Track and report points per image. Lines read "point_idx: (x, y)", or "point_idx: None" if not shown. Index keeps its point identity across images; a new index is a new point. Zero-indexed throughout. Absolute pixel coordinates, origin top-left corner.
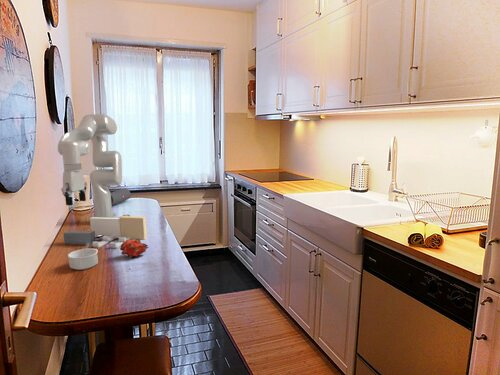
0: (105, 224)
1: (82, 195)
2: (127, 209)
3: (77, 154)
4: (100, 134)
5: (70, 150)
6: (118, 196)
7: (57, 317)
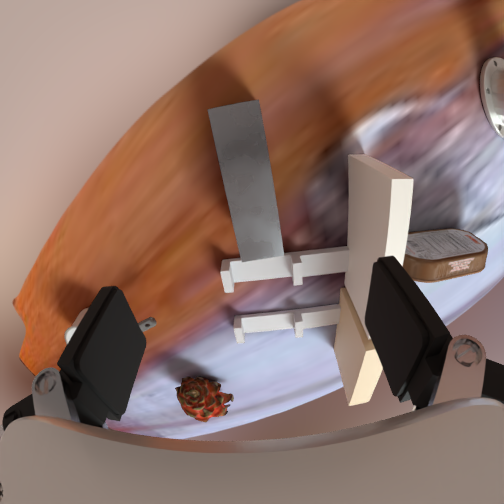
0: (369, 259)
1: (393, 357)
2: None
3: None
4: None
5: None
6: None
7: (34, 371)
